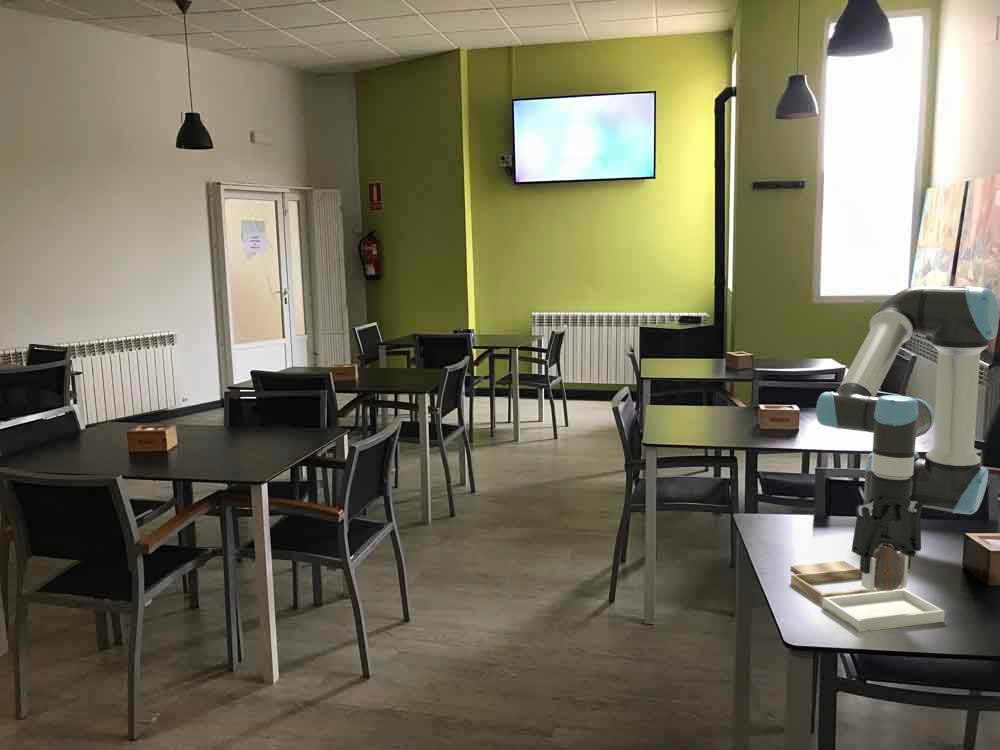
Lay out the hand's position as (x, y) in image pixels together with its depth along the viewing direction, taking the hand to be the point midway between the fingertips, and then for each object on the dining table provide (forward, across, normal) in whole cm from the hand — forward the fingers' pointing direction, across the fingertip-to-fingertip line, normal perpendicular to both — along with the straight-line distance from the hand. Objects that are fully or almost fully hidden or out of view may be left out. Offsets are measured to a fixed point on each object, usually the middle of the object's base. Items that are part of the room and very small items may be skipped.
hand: (883, 586), depth 167 cm
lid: (+6, -3, -23) cm, 24 cm away
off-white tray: (+6, 0, 0) cm, 6 cm away
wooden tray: (+6, -1, -13) cm, 14 cm away
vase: (+1, 0, 0) cm, 1 cm away
